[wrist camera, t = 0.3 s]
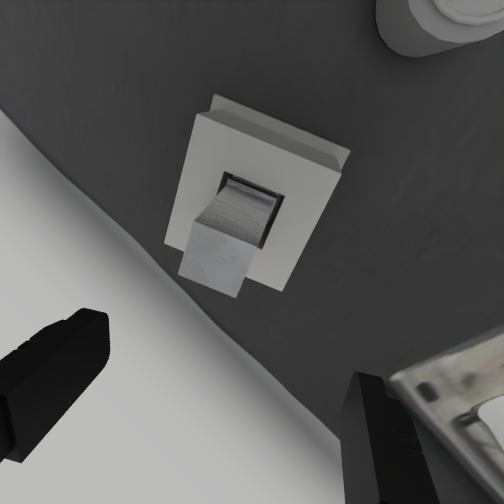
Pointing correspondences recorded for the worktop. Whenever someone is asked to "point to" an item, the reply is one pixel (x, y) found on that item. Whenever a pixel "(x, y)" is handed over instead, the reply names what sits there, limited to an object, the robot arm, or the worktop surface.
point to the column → (227, 235)
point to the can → (436, 24)
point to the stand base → (258, 180)
